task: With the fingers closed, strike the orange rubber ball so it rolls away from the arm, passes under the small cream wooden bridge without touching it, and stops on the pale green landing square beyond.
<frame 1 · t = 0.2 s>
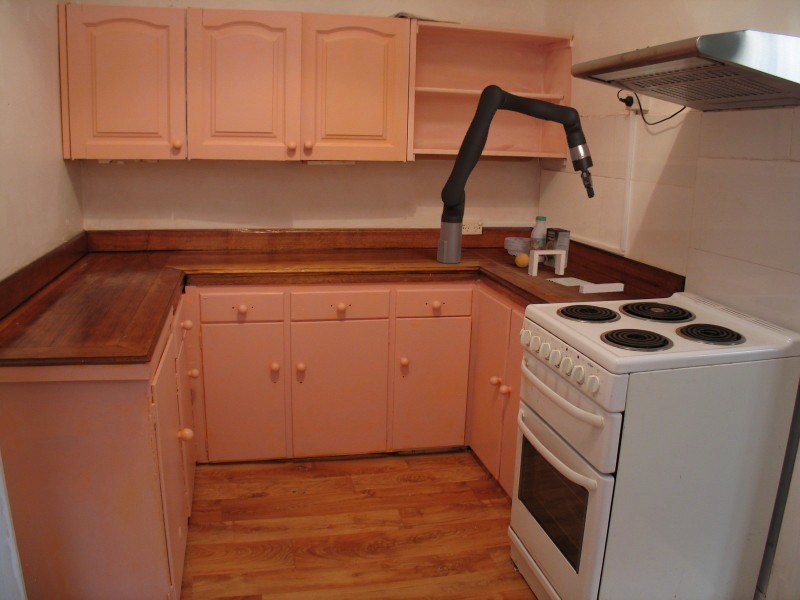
hand: (591, 197, 269), 31 cm above the worktop, tool tilted 20°, fingers open, 8 cm apart
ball: (522, 260, 283), on the worktop
paper bowls: (519, 255, 319), on the worktop
milk bottle: (537, 261, 303), on the worktop
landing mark: (569, 281, 256), on the worktop
coffee box: (554, 266, 291), on the worktop
bridge: (545, 274, 269), on the worktop
stopper strip: (601, 291, 240), on the worktop
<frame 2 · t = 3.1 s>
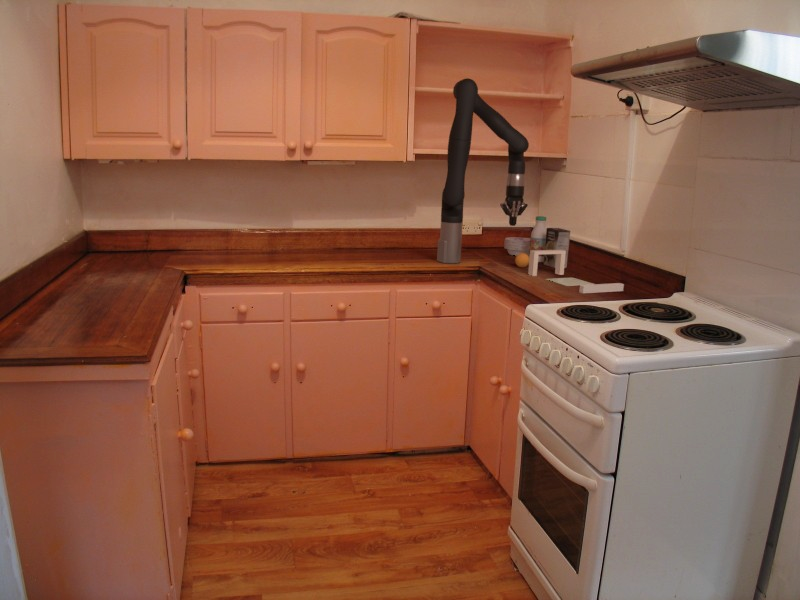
hand: (512, 225, 289), 17 cm above the worktop, tool pointing down, fingers closed
nothing on the worktop moved.
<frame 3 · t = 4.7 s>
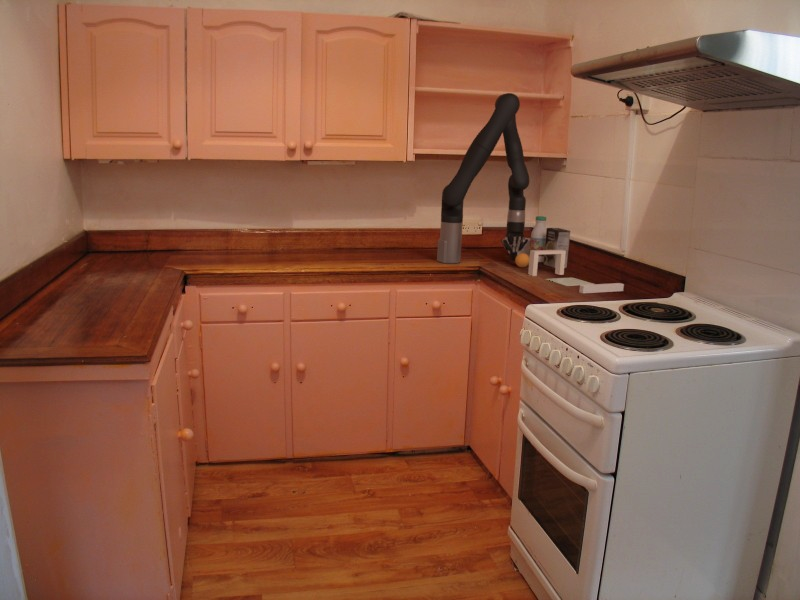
hand: (513, 260, 291), 2 cm above the worktop, tool pointing down, fingers closed
nothing on the worktop moved.
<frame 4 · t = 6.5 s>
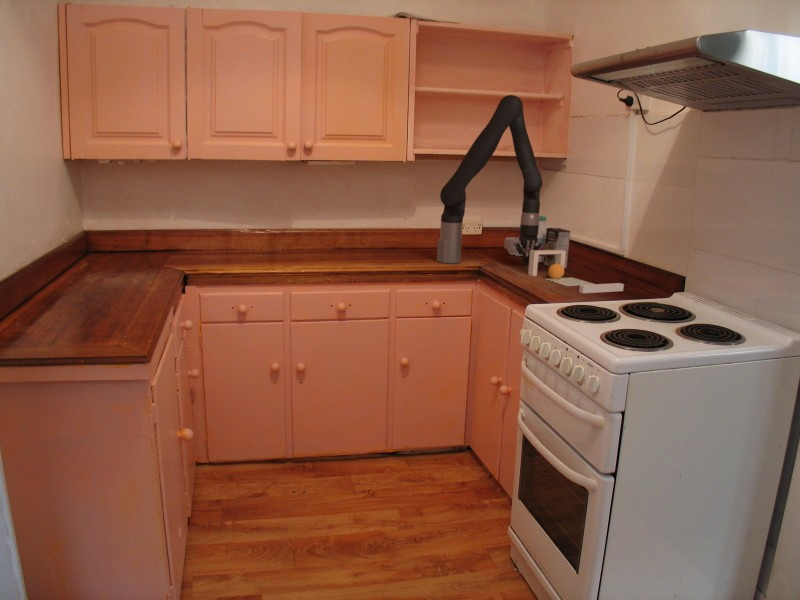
hand: (526, 265, 281), 2 cm above the worktop, tool pointing down, fingers closed
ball: (556, 271, 260), on the worktop
everything else where it was.
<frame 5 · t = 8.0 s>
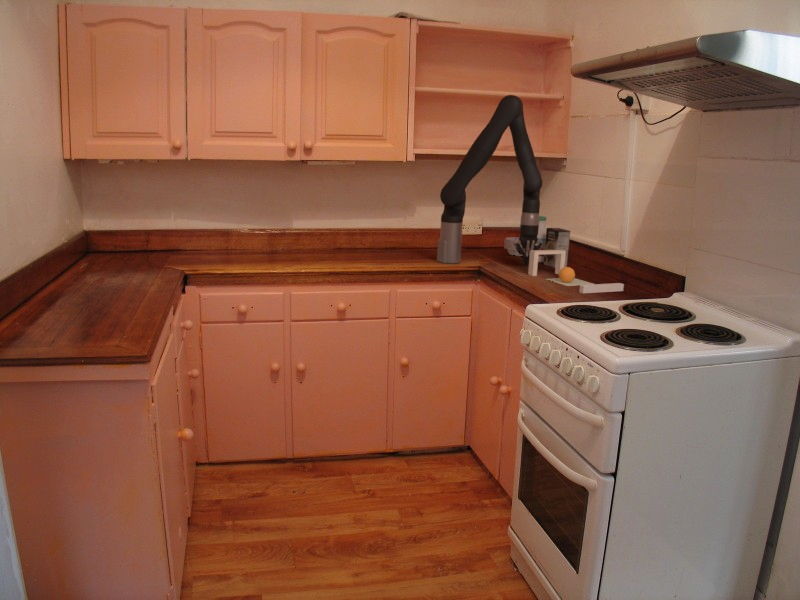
hand: (526, 265, 281), 2 cm above the worktop, tool pointing down, fingers closed
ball: (566, 274, 253), on the worktop
everything else where it was.
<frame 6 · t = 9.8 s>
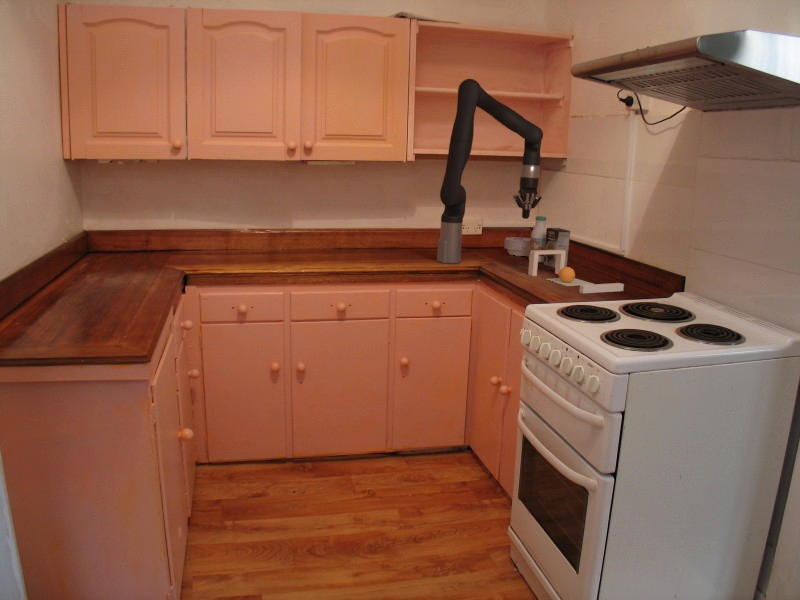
hand: (525, 218, 281), 20 cm above the worktop, tool pointing down, fingers closed
nothing on the worktop moved.
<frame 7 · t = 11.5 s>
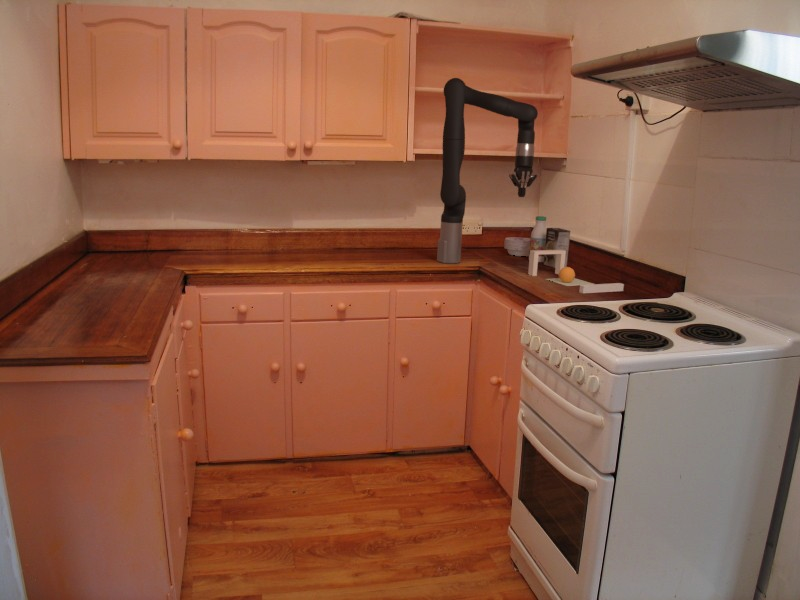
hand: (521, 196, 284), 29 cm above the worktop, tool pointing down, fingers closed
nothing on the worktop moved.
at the end: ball 2.8 cm from the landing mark (horizontally); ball never touched bridge; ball at rest at the end (0.0 cm/s) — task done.
